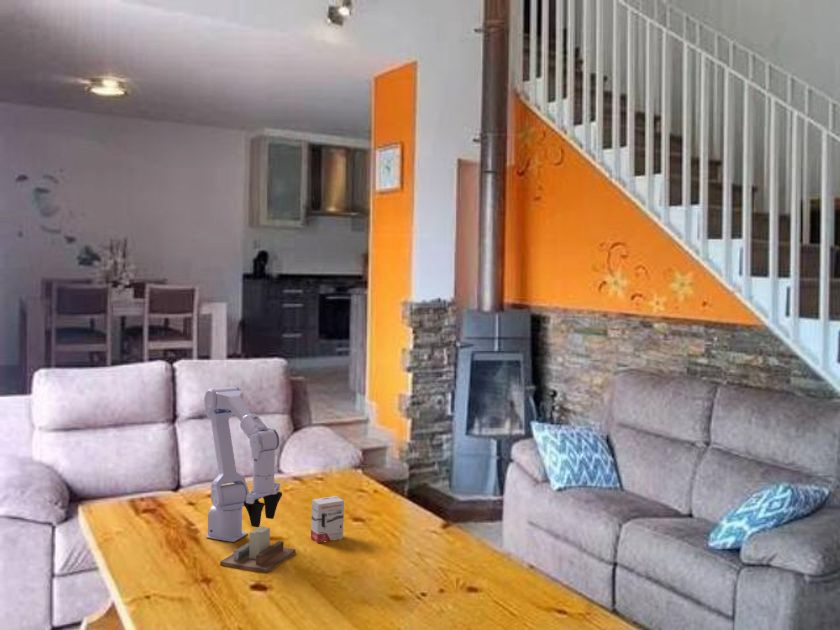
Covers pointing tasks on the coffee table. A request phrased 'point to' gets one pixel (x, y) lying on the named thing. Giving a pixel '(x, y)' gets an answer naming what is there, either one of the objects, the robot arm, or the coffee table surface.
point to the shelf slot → (261, 559)
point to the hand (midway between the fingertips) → (262, 522)
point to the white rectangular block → (259, 541)
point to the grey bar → (241, 552)
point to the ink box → (327, 519)
